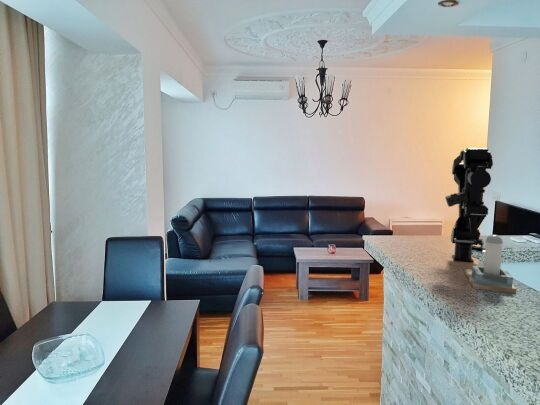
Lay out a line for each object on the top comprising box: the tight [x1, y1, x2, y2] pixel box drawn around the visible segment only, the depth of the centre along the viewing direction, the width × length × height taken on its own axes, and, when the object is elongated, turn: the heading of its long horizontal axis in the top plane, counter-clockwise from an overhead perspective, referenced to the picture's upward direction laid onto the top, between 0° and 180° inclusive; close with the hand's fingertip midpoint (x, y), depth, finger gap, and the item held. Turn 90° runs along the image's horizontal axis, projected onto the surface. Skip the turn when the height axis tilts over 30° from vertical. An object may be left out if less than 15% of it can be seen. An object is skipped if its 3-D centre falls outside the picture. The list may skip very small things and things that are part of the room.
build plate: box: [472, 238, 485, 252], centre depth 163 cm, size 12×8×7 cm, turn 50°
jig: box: [464, 265, 517, 294], centre depth 121 cm, size 16×11×4 cm
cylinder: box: [483, 234, 503, 275], centre depth 118 cm, size 4×4×14 cm
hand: (470, 231), depth 134 cm, fingers open, 9 cm apart
